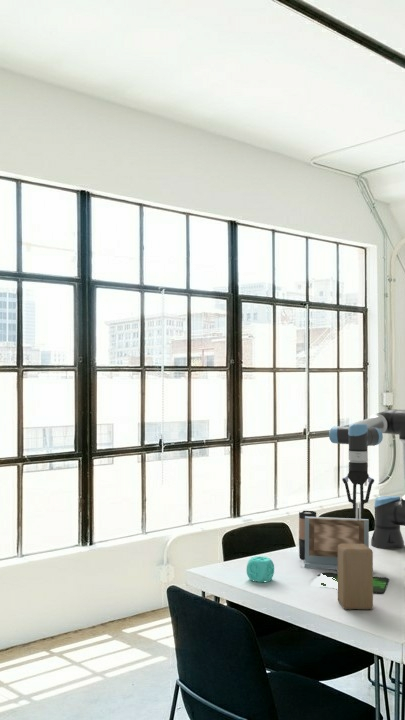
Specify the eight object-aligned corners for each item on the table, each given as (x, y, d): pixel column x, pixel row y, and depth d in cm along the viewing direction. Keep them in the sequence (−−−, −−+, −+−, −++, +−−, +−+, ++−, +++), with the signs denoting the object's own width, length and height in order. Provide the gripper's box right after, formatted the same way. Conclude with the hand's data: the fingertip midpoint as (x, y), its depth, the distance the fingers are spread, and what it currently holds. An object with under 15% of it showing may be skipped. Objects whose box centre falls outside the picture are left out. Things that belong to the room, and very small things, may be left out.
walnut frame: (363, 557, 276) (363, 520, 277) (364, 558, 274) (364, 521, 275) (309, 554, 280) (309, 517, 281) (308, 555, 278) (309, 518, 279)
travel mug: (317, 560, 293) (317, 513, 294) (299, 560, 293) (300, 513, 294) (315, 556, 300) (315, 510, 301) (297, 556, 301) (297, 510, 301)
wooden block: (365, 601, 236) (365, 543, 237) (373, 610, 226) (373, 549, 227) (337, 601, 236) (336, 543, 237) (343, 610, 226) (343, 549, 227)
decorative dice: (274, 579, 263) (274, 558, 264) (264, 583, 257) (264, 562, 257) (256, 575, 268) (256, 555, 268) (246, 580, 261) (246, 559, 261)
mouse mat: (308, 587, 254) (308, 584, 254) (319, 572, 274) (319, 570, 274) (383, 595, 244) (383, 592, 244) (389, 580, 265) (389, 577, 265)
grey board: (368, 566, 284) (368, 517, 285) (369, 571, 276) (368, 521, 277) (305, 562, 289) (305, 515, 290) (304, 567, 281) (304, 518, 282)
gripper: (341, 462, 275) (341, 520, 274) (375, 462, 272) (376, 522, 271) (341, 460, 282) (341, 517, 281) (374, 461, 280) (375, 519, 279)
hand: (358, 519), depth 276 cm, fingers closed, pressing on walnut frame
